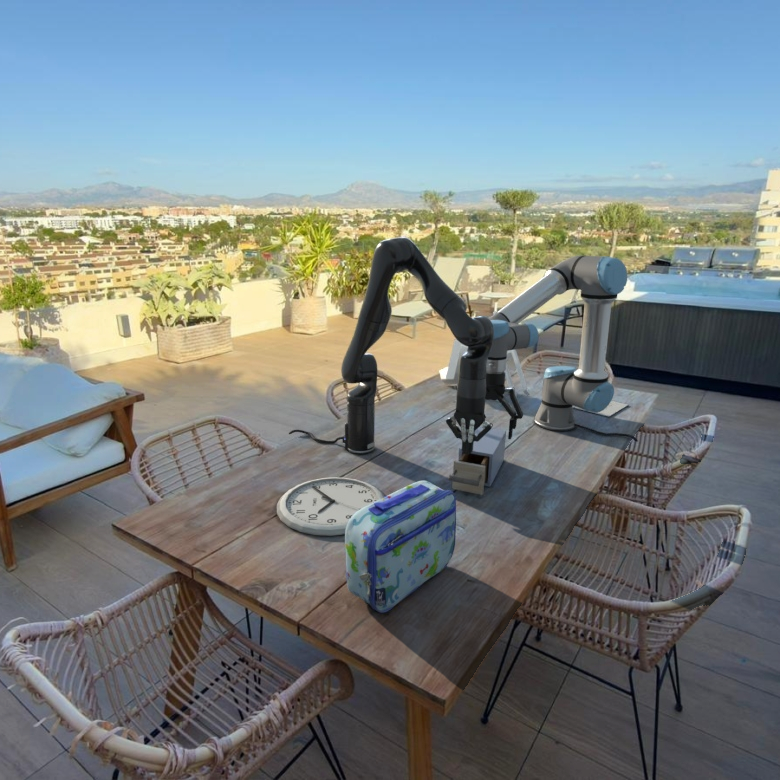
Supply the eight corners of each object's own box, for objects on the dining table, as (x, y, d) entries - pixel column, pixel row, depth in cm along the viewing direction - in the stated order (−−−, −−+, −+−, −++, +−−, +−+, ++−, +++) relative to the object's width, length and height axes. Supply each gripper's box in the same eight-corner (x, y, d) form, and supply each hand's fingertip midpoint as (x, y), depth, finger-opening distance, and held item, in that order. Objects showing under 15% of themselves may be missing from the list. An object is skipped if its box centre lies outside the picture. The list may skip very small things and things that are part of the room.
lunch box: (374, 626, 100) (375, 530, 93) (338, 598, 107) (337, 508, 101) (459, 568, 117) (465, 484, 111) (424, 547, 124) (427, 467, 118)
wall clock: (392, 527, 129) (268, 531, 127) (391, 533, 130) (269, 537, 127) (383, 473, 158) (282, 475, 155) (383, 478, 158) (282, 480, 156)
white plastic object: (461, 429, 252) (437, 405, 227) (444, 352, 274) (420, 323, 250) (535, 404, 240) (518, 377, 215) (510, 326, 262) (492, 293, 237)
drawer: (477, 504, 143) (479, 476, 140) (446, 497, 146) (447, 469, 143) (496, 467, 165) (498, 442, 162) (469, 462, 168) (470, 438, 165)
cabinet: (490, 487, 154) (492, 454, 151) (457, 480, 158) (459, 448, 155) (503, 460, 172) (506, 430, 169) (473, 454, 176) (475, 425, 173)
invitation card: (608, 416, 214) (573, 407, 224) (608, 416, 214) (573, 408, 224) (628, 404, 229) (594, 396, 238) (628, 405, 229) (594, 397, 238)
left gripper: (442, 393, 137) (439, 454, 142) (493, 400, 132) (488, 463, 137) (451, 386, 143) (447, 444, 148) (499, 392, 138) (494, 452, 144)
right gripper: (450, 369, 163) (448, 432, 169) (532, 378, 154) (526, 444, 160) (457, 363, 170) (454, 424, 176) (536, 372, 160) (530, 436, 167)
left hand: (467, 453), depth 143 cm, fingers closed
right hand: (488, 434), depth 168 cm, fingers open, 13 cm apart
